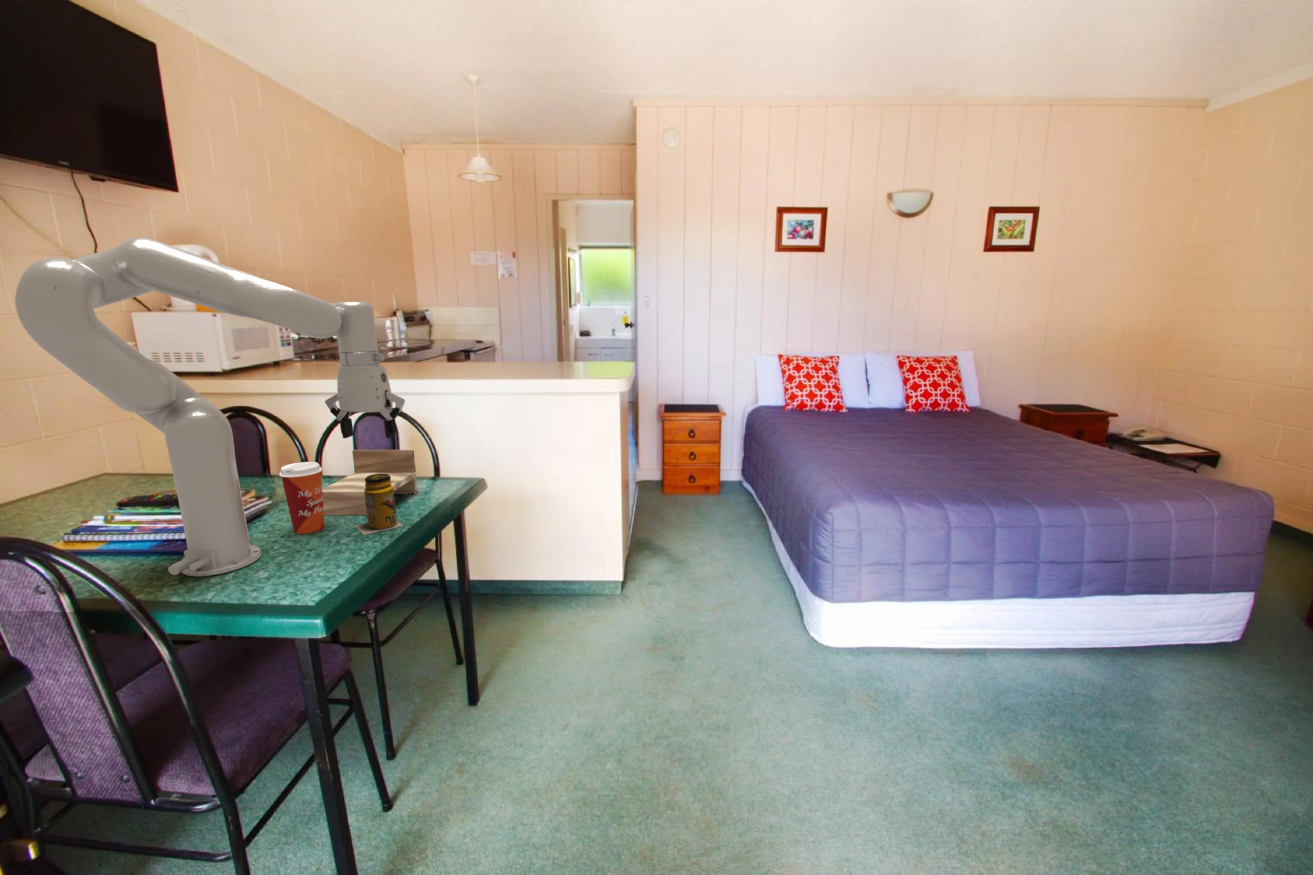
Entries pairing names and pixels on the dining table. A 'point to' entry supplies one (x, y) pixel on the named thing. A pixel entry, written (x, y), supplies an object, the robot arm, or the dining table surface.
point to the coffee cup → (304, 496)
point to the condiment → (379, 505)
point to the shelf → (350, 490)
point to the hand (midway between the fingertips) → (369, 436)
